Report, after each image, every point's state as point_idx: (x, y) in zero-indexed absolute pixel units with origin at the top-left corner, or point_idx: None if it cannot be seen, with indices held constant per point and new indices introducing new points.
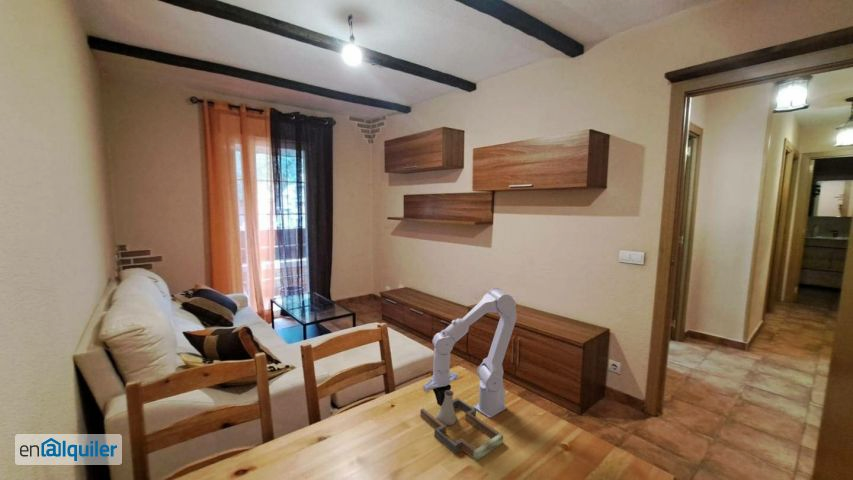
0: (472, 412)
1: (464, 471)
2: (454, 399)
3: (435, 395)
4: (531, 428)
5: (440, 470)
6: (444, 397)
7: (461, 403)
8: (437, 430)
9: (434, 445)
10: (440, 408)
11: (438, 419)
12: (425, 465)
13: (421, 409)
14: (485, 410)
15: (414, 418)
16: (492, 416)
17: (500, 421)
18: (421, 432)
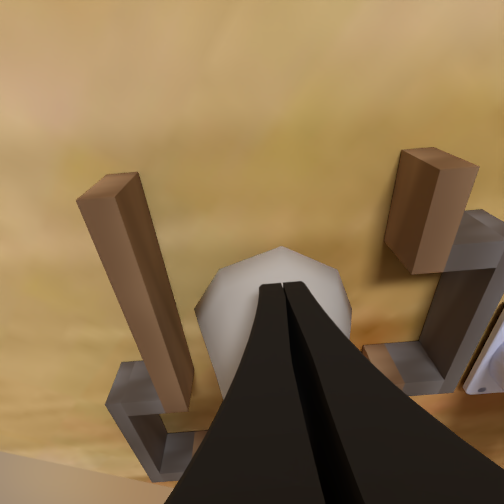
0: (417, 392)
1: (149, 480)
2: (486, 245)
3: (242, 361)
4: (497, 460)
5: (70, 462)
6: (308, 435)
7: (473, 297)
8: (118, 414)
9: (96, 394)
10: (235, 351)
11: (198, 322)
12: (18, 438)
13: (89, 201)
14: (499, 383)
15: (42, 168)
16: (482, 388)
17: (470, 410)
18: (56, 312)
